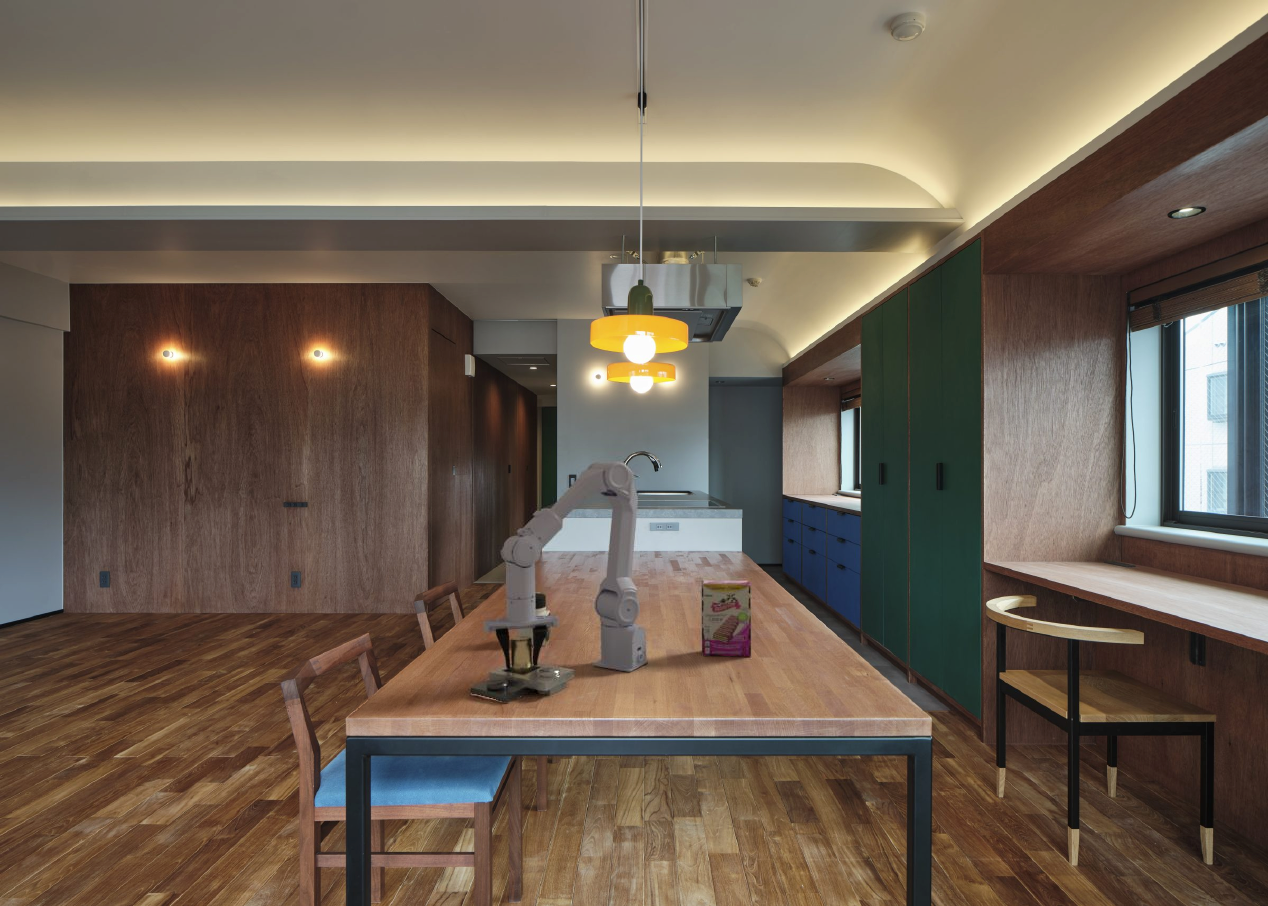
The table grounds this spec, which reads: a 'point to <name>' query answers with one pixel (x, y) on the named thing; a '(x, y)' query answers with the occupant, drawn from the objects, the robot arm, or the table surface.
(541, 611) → the medicine bottle
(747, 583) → the candy bar box
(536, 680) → the grey square hole plate
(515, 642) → the brass pin
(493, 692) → the black base board
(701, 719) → the table surface
